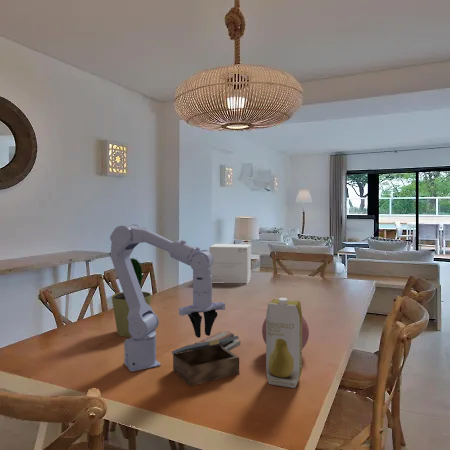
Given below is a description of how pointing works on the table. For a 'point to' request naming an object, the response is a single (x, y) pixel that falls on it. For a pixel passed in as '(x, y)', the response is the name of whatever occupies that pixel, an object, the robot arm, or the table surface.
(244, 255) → the cube
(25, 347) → the table surface
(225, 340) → the lid
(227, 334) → the packaged product
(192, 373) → the box
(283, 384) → the juice carton
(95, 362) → the table surface
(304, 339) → the balloon
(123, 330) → the potted cactus
